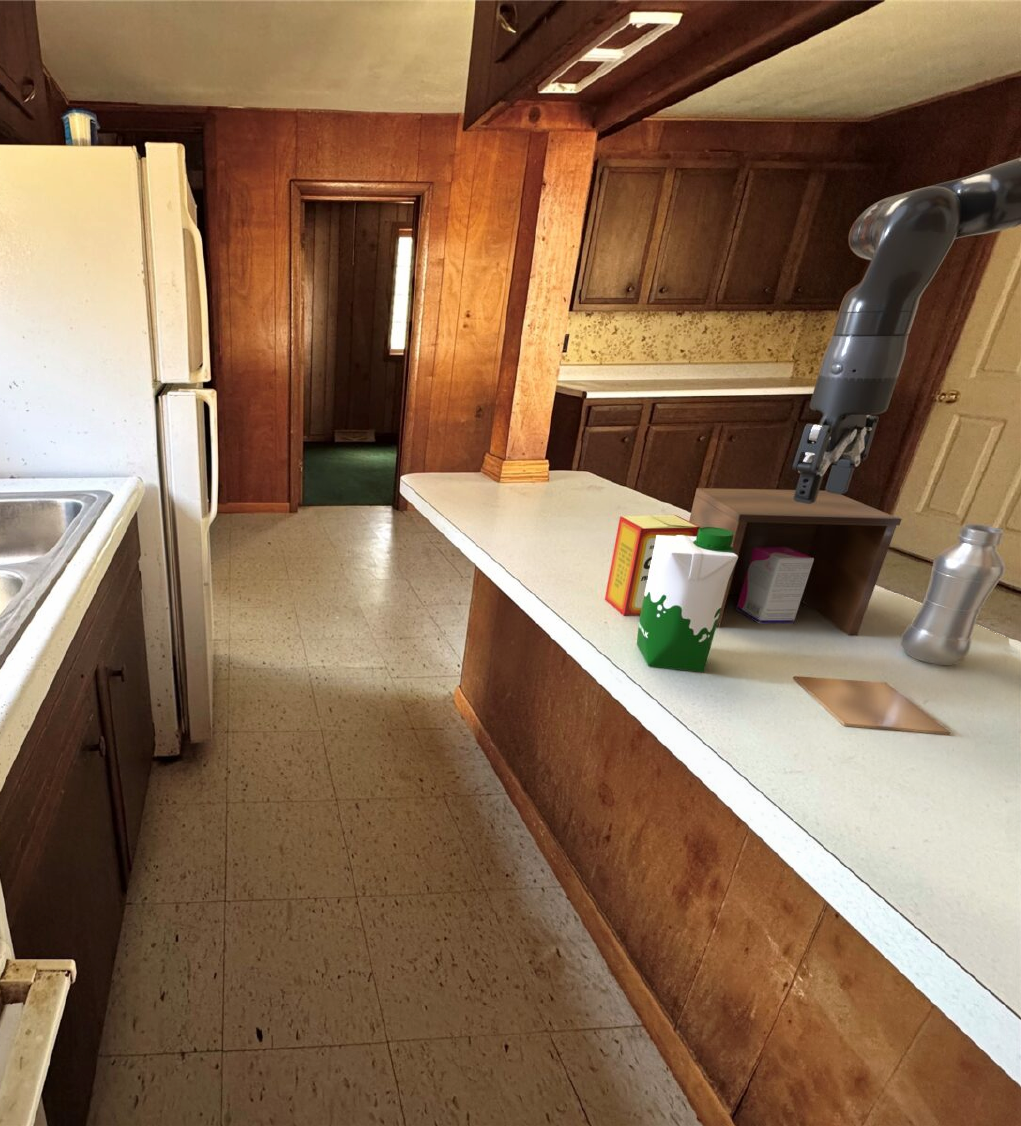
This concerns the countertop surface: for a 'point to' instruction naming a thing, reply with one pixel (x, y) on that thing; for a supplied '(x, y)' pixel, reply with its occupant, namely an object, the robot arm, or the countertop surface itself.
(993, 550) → the silver metal bottle
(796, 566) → the supplement box
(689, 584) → the milk carton
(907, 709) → the cork mat
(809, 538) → the cupboard
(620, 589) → the baking soda box
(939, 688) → the countertop surface
